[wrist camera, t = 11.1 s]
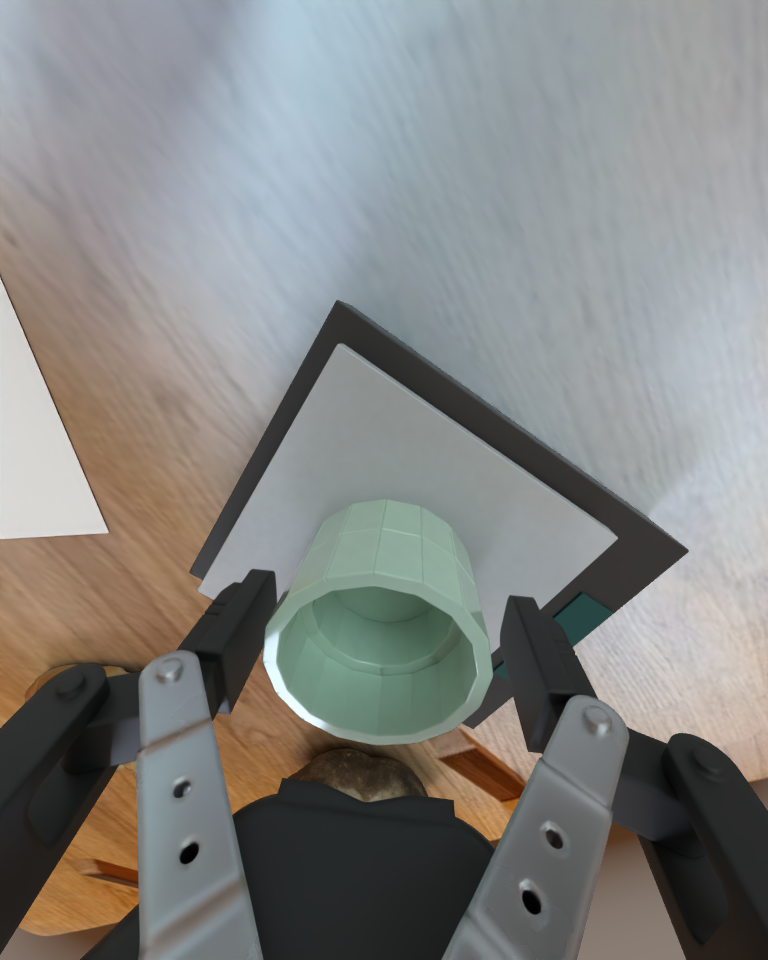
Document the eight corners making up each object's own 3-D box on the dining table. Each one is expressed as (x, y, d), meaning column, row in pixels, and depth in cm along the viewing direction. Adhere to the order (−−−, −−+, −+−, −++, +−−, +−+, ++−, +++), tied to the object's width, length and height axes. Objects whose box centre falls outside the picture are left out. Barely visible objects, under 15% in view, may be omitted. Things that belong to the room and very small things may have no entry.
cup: (362, 461, 13) (335, 528, 9) (502, 552, 14) (543, 655, 9) (281, 579, 15) (226, 681, 11) (407, 651, 16) (403, 772, 12)
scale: (351, 305, 15) (326, 294, 11) (647, 517, 18) (720, 575, 14) (219, 540, 20) (167, 595, 16) (466, 681, 23) (477, 761, 18)
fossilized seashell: (466, 798, 23) (330, 711, 23) (428, 952, 19) (265, 842, 19) (422, 784, 29) (315, 715, 29) (386, 898, 25) (262, 816, 25)
